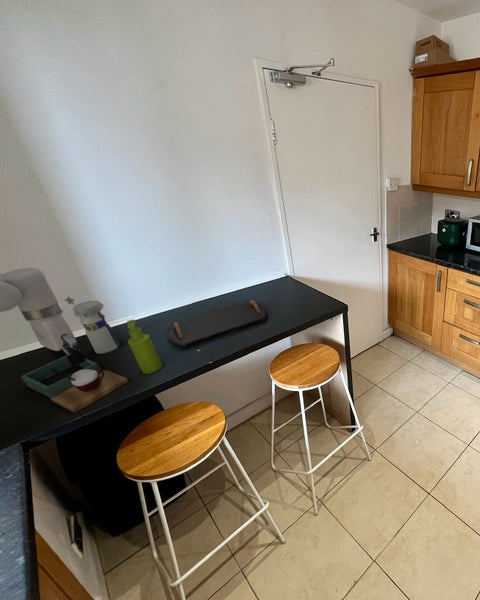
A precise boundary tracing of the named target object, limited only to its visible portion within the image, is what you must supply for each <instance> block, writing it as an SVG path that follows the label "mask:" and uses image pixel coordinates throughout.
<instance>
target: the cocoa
mask: <svg viewBox="0 0 480 600" xmlns="http://www.w3.org/2000/svg"><path fill="white" fill-rule="evenodd" d="M50 369H51V370H52V371H54V372H56V373H58V374H57V375H61V376H63V377H64V378H66V377H67V378H69V379H71V382H72V384H73V385H74V386H75V388H77V389H78V390H80V391H83V392H86V391H91V390H93V389H95V388H97V387H98V386H99V385H100V383H101V380H102V378H103V377H104V372H103V371H104V370H101V371H100V372H99V373H97V371H94V370H89V369H84V368H82V369H83V370H82V369H79V370H78V371H75V372H74V373H72V374H73V375H72V374H71V375H72V377H69V376H70V375H67V374H65V373H63V372H59V371H57V370H55V369H53V368H50ZM100 373H102V376H101V378H100V376H99V374H100Z"/></svg>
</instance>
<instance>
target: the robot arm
mask: <svg viewBox="0 0 480 600" xmlns="http://www.w3.org/2000/svg"><path fill="white" fill-rule="evenodd" d="M16 307H18V309H19V311H20V312H21V314H22V317H23V318H24V319H25V321H26V322H28V323H29V325H30V327H31V329H32V332H34V335H35V337H36V339H37V341H38V342H39V344H40V345H41V346H43V347H45V348H47V349H48V352H49V353H50V355H51V356H52V358H53V359H54V360H58V359H60V358H62V357H65V356H67V358H68V360H69V362H70V364H71V365H72V367H78V365H79V364H81V363H83V362H85V361H86V360H85V359H86V358H85V356H84V354H83V352H82V350H81V349H80V347H79V345H78V342H77V339H76V336H75V334H74V332H73V331H72V329H71V327H70V326H69V324H68V323H67V321H66V319H65V317H64V316H63V313H64V312H65V311H64V309H63V307H62V305H61V304H60V301H59V300H58V298H57V296H56V293H55V292H54V290H53V288H52V286H51V284H50V282H49V280H48V279H47V276H46V275H45V273H44V271H43V270H41V269H40V268H37V267H23V268H18V269H13V270H10V271H7V272H5V273H0V313H3V312H7V311H11V310H13V309H14V308H16Z"/></svg>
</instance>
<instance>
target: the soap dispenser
mask: <svg viewBox="0 0 480 600" xmlns="http://www.w3.org/2000/svg"><path fill="white" fill-rule="evenodd" d="M126 325H127V329H128V334H129V337H130V338H129V339H128V340H127V343H128V345H129V347H130V349H131V351H132V353H133V355H134V358H135V360H136V362H137V364H138V365H139V366H138V367H139V368H140V370H141V372H142V373H143V374H145V375H147V374H152V373H156V372H157V371H159V370H160V369H161V368H163V363H162V361H161V359H160V357H159V354H158V352H157V350H156V348H155V346H154V343H153V341H152V339H151V336H150V334H148V333H144V332H143V330H142V328H141V327H140V326H137V325H136V321H135V319H130V320H127V321H126Z"/></svg>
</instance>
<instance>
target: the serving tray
mask: <svg viewBox="0 0 480 600" xmlns="http://www.w3.org/2000/svg"><path fill="white" fill-rule="evenodd" d="M266 318H267V310H266V307H264V305H263V304H261V303H259V302H257V301H254V300H244V301H240V302H237V303H233V304H229V305H227V306H224V307H219V308H217V309H213V310H209V311H206V312H203V313H199V314H195V315H193V316H189V317H185V318H182V319H178V320H176V321H173V322H172V323H171V324H170V325H169V327H168V330H167V332H168V333H167V338H168V339H169V340H170V341H171V342H172V343H173V344H174V343H175V344H176V345H178V346H181V348H183V349H187V348H188V347H189V345H190V344H192V343H195V342H198V341H202V340H204V339H207V338H211V337H213V336H216V335H219V334H223V333H226V332H228V331H231V330H234V329H237V328H241V327H243V326H246V325H248V324H251V323H256V322H258V321H260V322H261V323H264V322H265V321H266Z"/></svg>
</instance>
